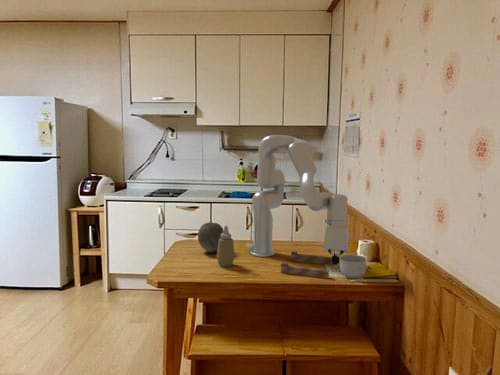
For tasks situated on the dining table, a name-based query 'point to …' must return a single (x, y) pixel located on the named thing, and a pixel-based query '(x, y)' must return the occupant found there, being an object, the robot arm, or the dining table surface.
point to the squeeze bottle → (225, 249)
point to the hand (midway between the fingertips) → (335, 264)
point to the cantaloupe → (210, 236)
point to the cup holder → (304, 270)
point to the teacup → (353, 265)
